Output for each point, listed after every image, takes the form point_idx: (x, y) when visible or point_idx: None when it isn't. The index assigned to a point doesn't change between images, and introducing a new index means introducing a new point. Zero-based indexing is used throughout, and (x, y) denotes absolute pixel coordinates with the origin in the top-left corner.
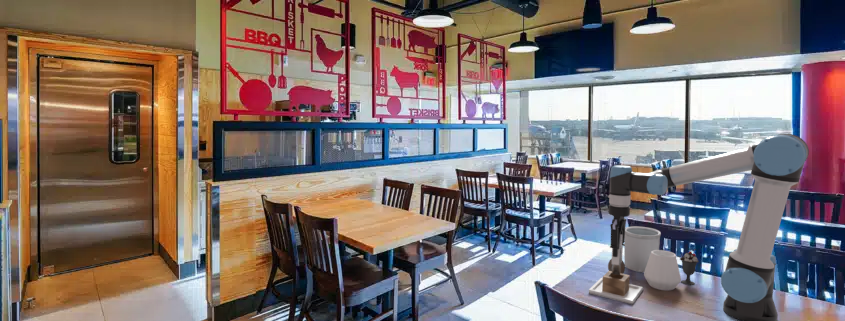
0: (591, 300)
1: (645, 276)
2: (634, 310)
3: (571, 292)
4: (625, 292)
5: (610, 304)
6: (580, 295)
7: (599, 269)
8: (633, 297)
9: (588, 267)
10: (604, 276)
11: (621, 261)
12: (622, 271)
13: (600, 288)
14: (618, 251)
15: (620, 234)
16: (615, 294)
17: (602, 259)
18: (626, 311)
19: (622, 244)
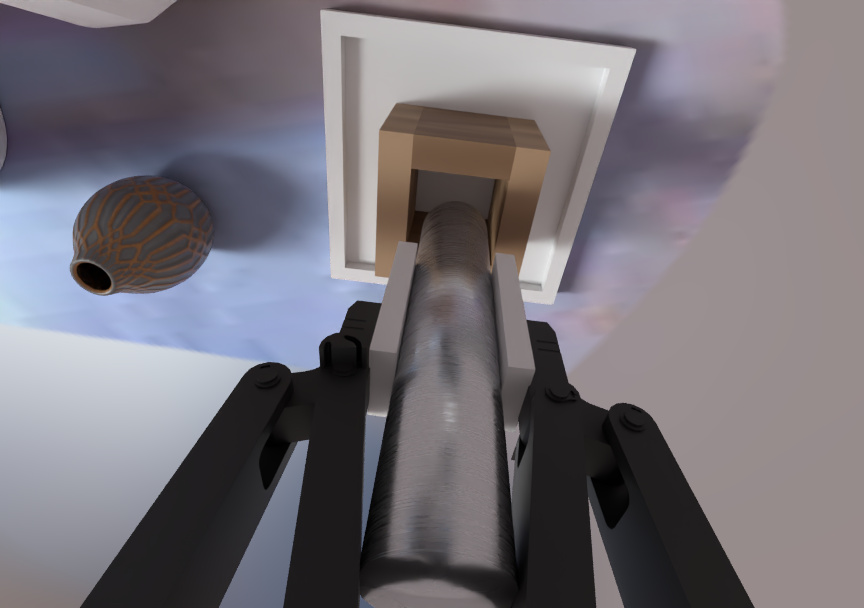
0: (641, 268)
1: (169, 5)
2: (727, 17)
3: (572, 354)
4: (493, 118)
5: (667, 175)
6: (593, 319)
7: (176, 297)
8: (570, 51)
9: (195, 343)
10: None
11: (415, 248)
12: (171, 188)
13: None
14: (529, 354)
15: (434, 571)
16: None
17: (13, 306)
18: (756, 68)
19: (358, 369)
